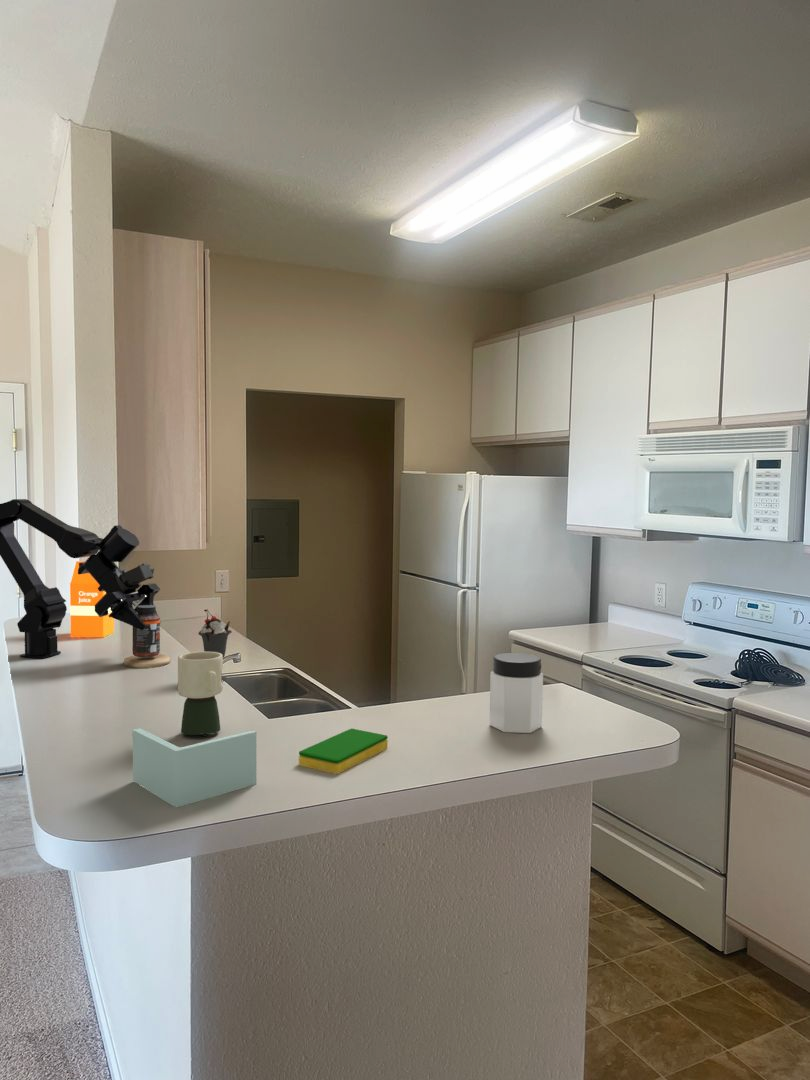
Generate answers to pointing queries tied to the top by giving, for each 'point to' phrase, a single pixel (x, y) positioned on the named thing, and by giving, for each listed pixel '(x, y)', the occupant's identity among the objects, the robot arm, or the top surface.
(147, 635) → the supplement bottle
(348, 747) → the dish sponge
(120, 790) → the top surface
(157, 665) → the plate
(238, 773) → the l-shaped corner panel
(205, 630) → the sundae
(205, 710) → the character mug
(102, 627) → the orange juice
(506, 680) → the jar
